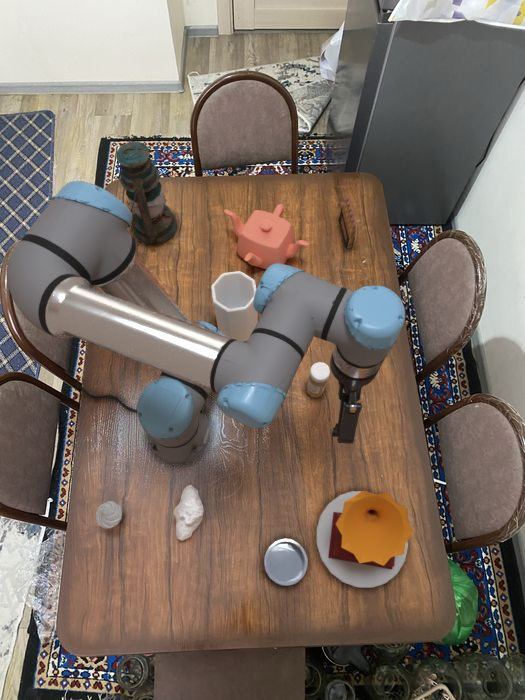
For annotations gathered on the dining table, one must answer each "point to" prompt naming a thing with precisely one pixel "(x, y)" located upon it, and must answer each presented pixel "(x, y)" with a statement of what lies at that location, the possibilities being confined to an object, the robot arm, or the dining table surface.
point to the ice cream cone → (108, 514)
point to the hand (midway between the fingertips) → (339, 399)
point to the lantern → (145, 195)
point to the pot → (265, 238)
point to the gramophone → (363, 538)
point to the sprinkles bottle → (317, 379)
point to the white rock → (188, 513)
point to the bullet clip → (348, 223)
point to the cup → (235, 305)
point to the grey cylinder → (285, 562)
